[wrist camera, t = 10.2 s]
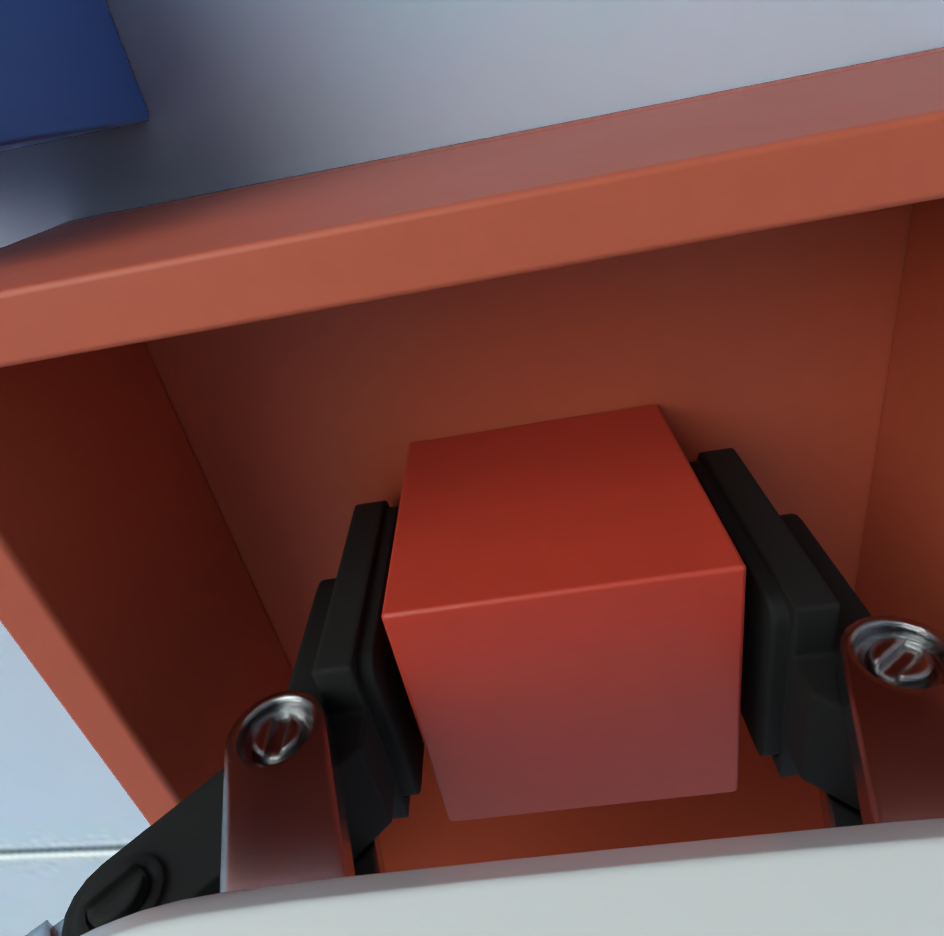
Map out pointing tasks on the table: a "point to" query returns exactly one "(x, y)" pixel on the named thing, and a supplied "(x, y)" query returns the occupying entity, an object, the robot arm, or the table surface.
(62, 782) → the table surface
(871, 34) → the table surface
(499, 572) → the red block
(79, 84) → the blue block
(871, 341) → the red bin
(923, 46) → the table surface
